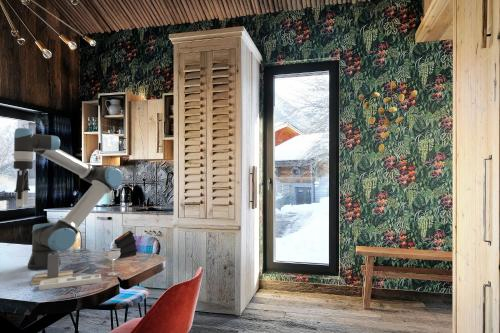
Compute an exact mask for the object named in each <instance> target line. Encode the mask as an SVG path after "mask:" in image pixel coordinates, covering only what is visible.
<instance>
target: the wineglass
mask: <svg viewBox="0 0 500 333" xmlns="http://www.w3.org/2000/svg"><path fill="white" fill-rule="evenodd" d="M105 251H106V253H105V256H106V258H107V259H108V260H110V261H111V262H112V264H111V265H112V266H111V267H112V271H111V272H109V273H107V275H108V276H116V275H118V274H119V272H116V271H114V270H115V269H114V266H115V261H116V260H117V259H120V258H119V257H120V254H121V253H120V249H119V248H117V247H115V248H114V247H113V248H107V249H105Z"/></svg>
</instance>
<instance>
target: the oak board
mask: <svg viewBox="0 0 500 333" xmlns="http://www.w3.org/2000/svg"><path fill="white" fill-rule="evenodd" d="M73 272H74V270H73V269H70V270H62V271H60V270H59V276H58V277H55V278H47V272H40V273H35V274H34V276H33V278H32V280H31V282H30V287H31V286H39V285H40V282H41V281H43V280H51V279H60V278H68V277H73Z"/></svg>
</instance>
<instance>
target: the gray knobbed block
mask: <svg viewBox="0 0 500 333" xmlns="http://www.w3.org/2000/svg"><path fill="white" fill-rule="evenodd" d="M59 257H60V252H58V253H55V252H52V253H50V254H48V268H47V269H46V270H47V271H46V273H47V278H55V277H58V276H59V271H60V265H59Z"/></svg>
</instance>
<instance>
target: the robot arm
mask: <svg viewBox="0 0 500 333" xmlns="http://www.w3.org/2000/svg"><path fill="white" fill-rule="evenodd" d="M60 147H61V140H60V137H59V136H57V135H52V134H51V135H49V134H38V133H35V132H34V129H32V128H26V127H24V128H23V127H18V128H15V130H14V134H13V153H12V156H13V159H14V161H13V169H14V170H17V172H16V174H17V176H16V183H15V184H16V185H15V189H14V191H13V192H14V193H15V194H16V195H15V207H17V208H19V207H20V208H21V207H24V205H28V204H29V191H30V190H31V188H30V186H29V185H30V184H29V170H32V169H33V168H34V167H33V166H34V164H33V163H34V162H33V159H34V153H35V154H38V155H40V156H41V157H44V158H46V159H47V160H50V161H51V162H53V163H55V164H57V165H59V166H61V167H62V168H64V169H66V170H69V171H71V172H72V173H74V174H76V175H78V176H79V178H80V179H82V180H84V181H86V182H88V183H90V184H92V185H91V186H90V187H89V188H88V190H87V191H86V192H85V193H84V194H83V196H81V198H80V199H79V200H78V201H77V203H76V204H75V205H74V206H73V207H72V208H71V209H70V211H69V212H68V213H67V214H66V216H64V217H63V218H61V219H58V220H57V221H56V222H47V223H39V224H34V225H33V226H32V231H31V234H32V236H31V237H32V240H31V255H30V257H29V259H28V262H27V270H30V271H31V270H33V271H40V270H47V268H48V254H50V253H52V252H55V253H59V252H64V251H67V250H69V249H70V248H71V247H73V246H74V245H75V243H76V242H77V241H76V240H77V235H78V234H79V227H80V226H81V224H83V222H84V221H85V220H86V219H87V218H88V216H89V215H90V214H91V212H92V211H93V210H94V208H95V207H96V206H97V205H98V204H99V202H100V201H101V200H102V198H104V196H105V195H106V194H110V193H111V191H113V189H114V188H118V187H119V186H121V184H122V183H123V173H122V171H121V170H120V169H119V168H117V167H114V166H107V167H105V166H104V167H103V166H95V165H92V164H91V163H85V162H84V161H83V160H82V161H81V160H80V159H78V158H76V157H75V156H73V155H71V154H69V153H67V152H65V151H64V150H61V149H60ZM60 257H61V256H59V266H60V265H61V263H62V262H61V260H62V259H61V258H60Z"/></svg>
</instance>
